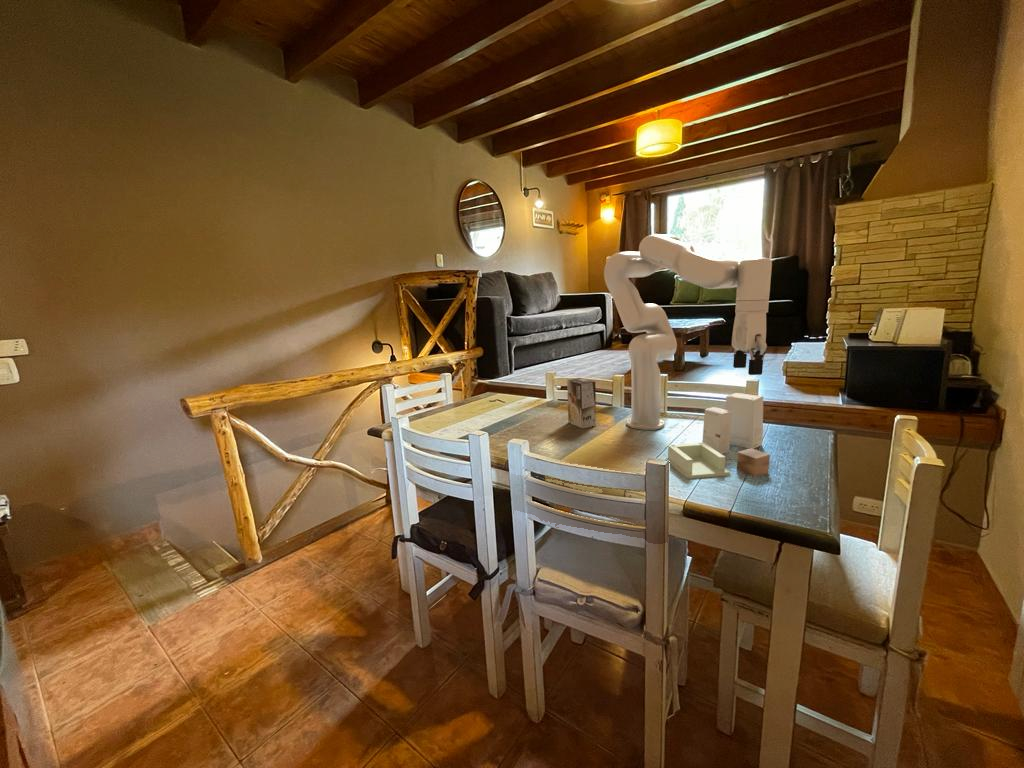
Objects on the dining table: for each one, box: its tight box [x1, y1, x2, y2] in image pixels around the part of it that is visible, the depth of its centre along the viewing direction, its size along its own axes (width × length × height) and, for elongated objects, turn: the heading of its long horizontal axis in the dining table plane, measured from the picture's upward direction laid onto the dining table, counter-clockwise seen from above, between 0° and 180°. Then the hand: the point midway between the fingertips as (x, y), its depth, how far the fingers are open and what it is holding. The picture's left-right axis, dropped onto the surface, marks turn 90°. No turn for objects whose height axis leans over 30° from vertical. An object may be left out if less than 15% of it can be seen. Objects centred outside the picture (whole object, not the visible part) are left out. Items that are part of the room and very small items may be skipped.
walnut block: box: [736, 448, 771, 478], centre depth 106 cm, size 5×5×5 cm
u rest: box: [665, 442, 731, 479], centre depth 110 cm, size 12×11×4 cm
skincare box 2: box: [725, 392, 764, 449], centre depth 123 cm, size 8×6×15 cm
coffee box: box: [566, 377, 597, 430], centre depth 149 cm, size 9×6×16 cm
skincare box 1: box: [701, 406, 732, 455], centre depth 120 cm, size 6×4×12 cm
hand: (746, 371), depth 114 cm, fingers open, 9 cm apart
